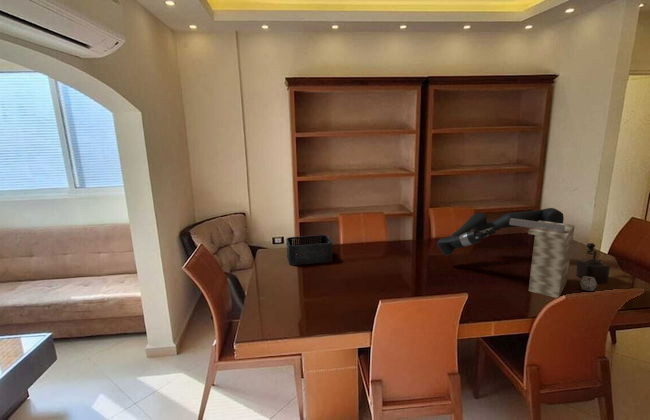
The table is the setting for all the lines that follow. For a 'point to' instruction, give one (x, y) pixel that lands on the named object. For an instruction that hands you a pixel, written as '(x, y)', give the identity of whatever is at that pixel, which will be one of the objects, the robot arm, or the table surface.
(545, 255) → the zigzag patterned box
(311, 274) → the table surface
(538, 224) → the steel bar
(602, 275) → the black coffee grinder
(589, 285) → the game die
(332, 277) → the table surface
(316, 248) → the storage bin
